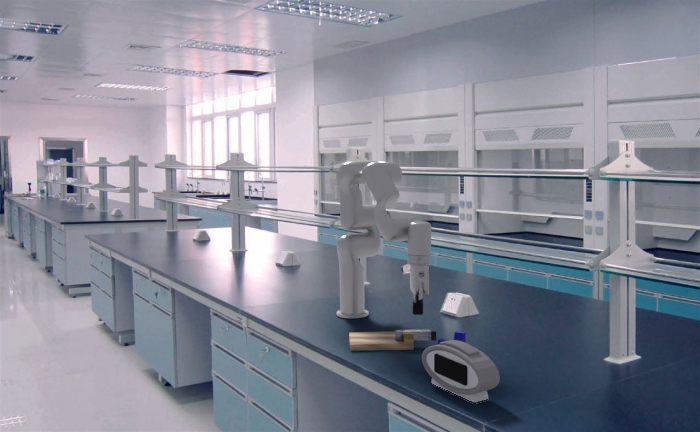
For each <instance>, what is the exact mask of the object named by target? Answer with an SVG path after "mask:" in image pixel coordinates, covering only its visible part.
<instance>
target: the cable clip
mask: <svg viewBox="0 0 700 432" xmlns="http://www.w3.org/2000/svg"><path fill="white" fill-rule="evenodd" d="M466 333H467V332H465V331H459V330H456V331H455V332H454V335H453V340H457V341H462V342H465V343H467V342H466V337H467V336H466ZM444 341H449V339H444V338H439V339H437V345H439V343H440V342H444Z"/></svg>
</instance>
